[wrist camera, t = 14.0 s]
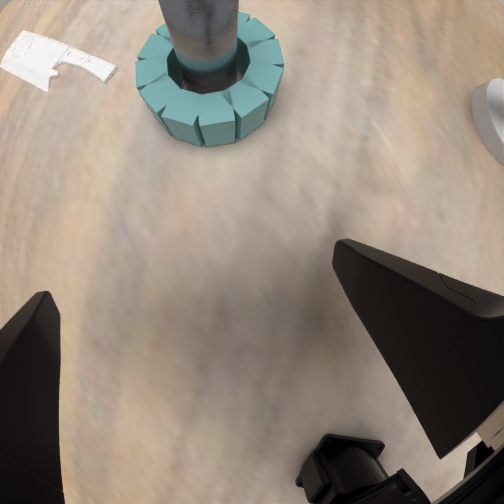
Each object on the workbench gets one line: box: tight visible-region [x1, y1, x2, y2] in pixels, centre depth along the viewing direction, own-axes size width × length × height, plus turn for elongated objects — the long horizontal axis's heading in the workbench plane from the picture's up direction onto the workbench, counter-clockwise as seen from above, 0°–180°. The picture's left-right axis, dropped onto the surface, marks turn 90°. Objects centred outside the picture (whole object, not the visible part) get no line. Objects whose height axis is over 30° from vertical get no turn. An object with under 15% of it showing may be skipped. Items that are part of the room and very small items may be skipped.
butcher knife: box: [0, 30, 118, 93], centre depth 19 cm, size 5×15×1 cm, turn 57°
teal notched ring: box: [136, 12, 284, 147], centre depth 18 cm, size 9×9×4 cm
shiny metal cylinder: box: [159, 0, 239, 95], centre depth 14 cm, size 4×4×12 cm
